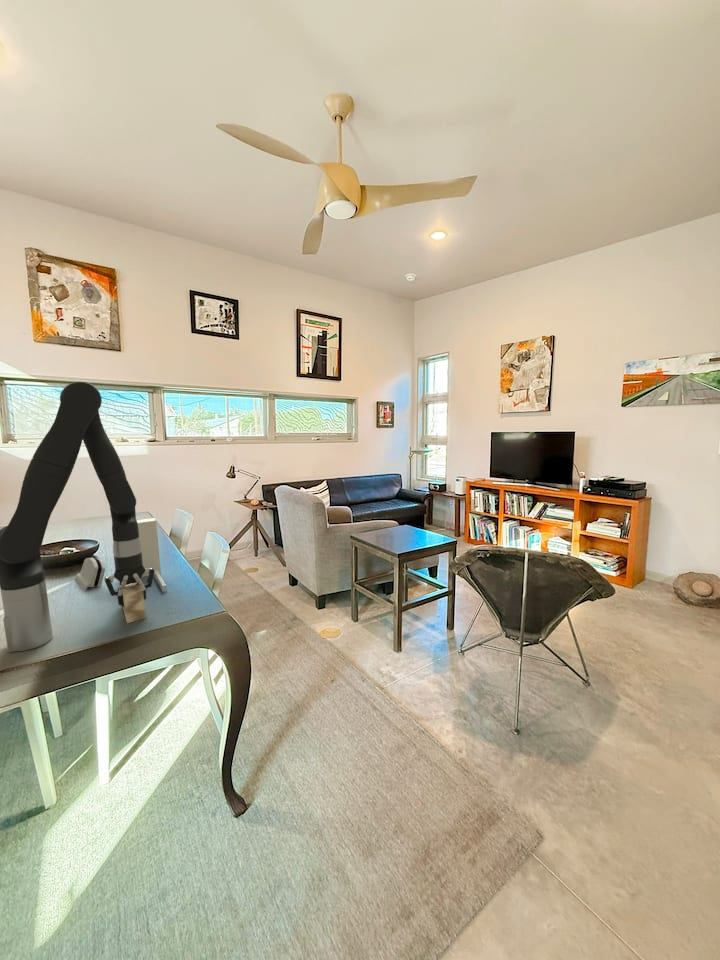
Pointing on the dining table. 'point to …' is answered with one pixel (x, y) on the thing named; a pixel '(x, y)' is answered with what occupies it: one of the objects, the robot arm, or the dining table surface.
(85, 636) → the dining table surface
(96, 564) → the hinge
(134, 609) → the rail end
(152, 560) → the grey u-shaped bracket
